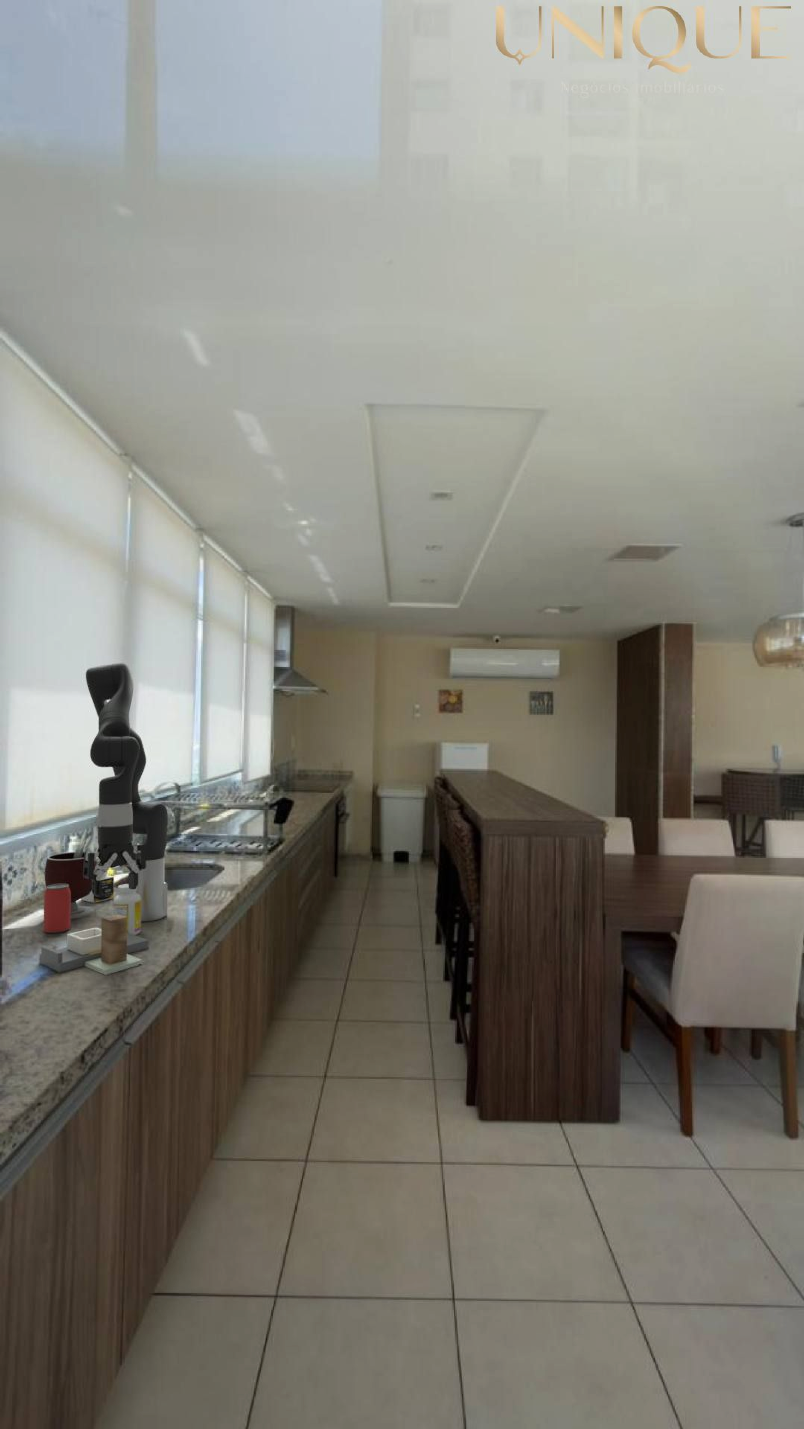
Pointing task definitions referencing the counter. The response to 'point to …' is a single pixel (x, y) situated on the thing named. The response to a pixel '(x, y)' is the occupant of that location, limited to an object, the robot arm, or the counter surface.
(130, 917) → the supplement bottle
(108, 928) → the peg
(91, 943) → the tab
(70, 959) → the switch panel
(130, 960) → the tool rest
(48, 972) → the counter surface
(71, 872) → the mate gourd
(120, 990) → the counter surface
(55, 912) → the beer can
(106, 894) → the medicine bottle
